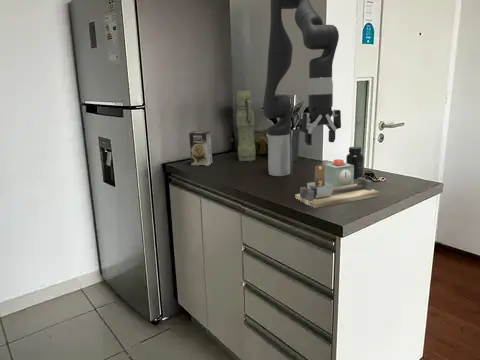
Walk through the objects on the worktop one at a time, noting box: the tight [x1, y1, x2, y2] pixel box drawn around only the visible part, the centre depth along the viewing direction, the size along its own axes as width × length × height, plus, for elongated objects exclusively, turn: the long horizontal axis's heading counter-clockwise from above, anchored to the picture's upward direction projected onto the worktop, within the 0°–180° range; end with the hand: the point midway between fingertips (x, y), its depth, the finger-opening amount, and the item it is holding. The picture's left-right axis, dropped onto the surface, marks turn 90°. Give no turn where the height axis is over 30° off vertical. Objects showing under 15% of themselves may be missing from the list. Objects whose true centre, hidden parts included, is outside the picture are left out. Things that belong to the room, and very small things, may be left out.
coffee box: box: [188, 130, 213, 167], centre depth 191 cm, size 9×6×16 cm
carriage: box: [306, 164, 333, 198], centre depth 130 cm, size 6×6×10 cm
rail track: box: [294, 177, 380, 209], centre depth 134 cm, size 12×26×5 cm, turn 112°
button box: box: [322, 161, 355, 188], centre depth 147 cm, size 8×8×8 cm
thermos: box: [235, 88, 257, 162], centre depth 194 cm, size 9×12×35 cm
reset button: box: [333, 158, 344, 167], centre depth 146 cm, size 4×4×4 cm
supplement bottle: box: [345, 146, 365, 179], centre depth 157 cm, size 7×7×12 cm
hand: (320, 143), depth 127 cm, fingers open, 8 cm apart
